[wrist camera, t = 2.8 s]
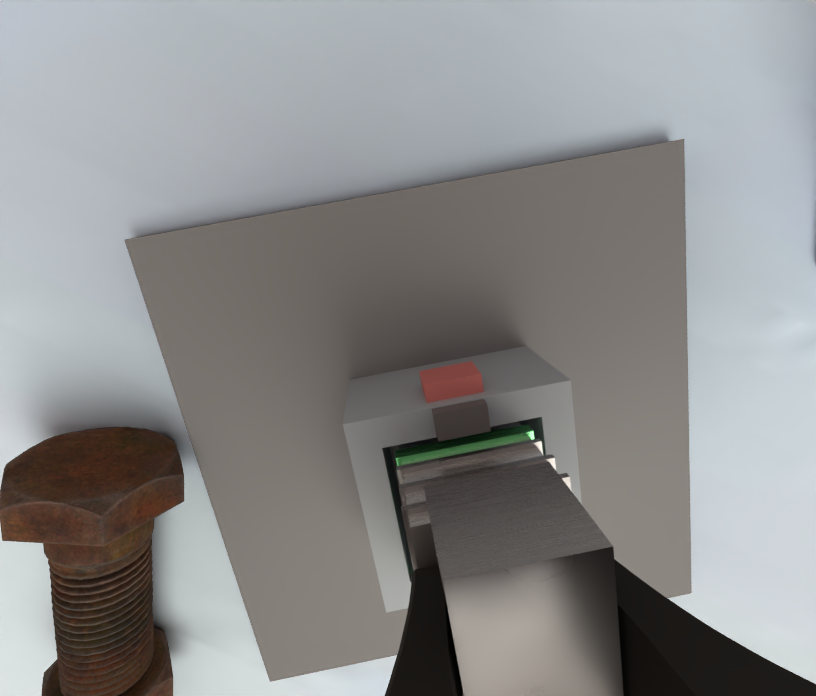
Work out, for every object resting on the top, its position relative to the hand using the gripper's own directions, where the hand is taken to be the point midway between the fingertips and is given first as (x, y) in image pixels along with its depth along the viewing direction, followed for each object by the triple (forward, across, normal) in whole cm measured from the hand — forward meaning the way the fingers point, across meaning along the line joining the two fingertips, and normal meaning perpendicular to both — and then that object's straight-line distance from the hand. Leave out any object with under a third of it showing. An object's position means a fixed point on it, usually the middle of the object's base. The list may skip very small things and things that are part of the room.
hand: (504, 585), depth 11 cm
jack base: (+9, 0, 0) cm, 9 cm away
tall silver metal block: (+5, 0, 0) cm, 5 cm away
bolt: (+9, +15, +4) cm, 18 cm away
